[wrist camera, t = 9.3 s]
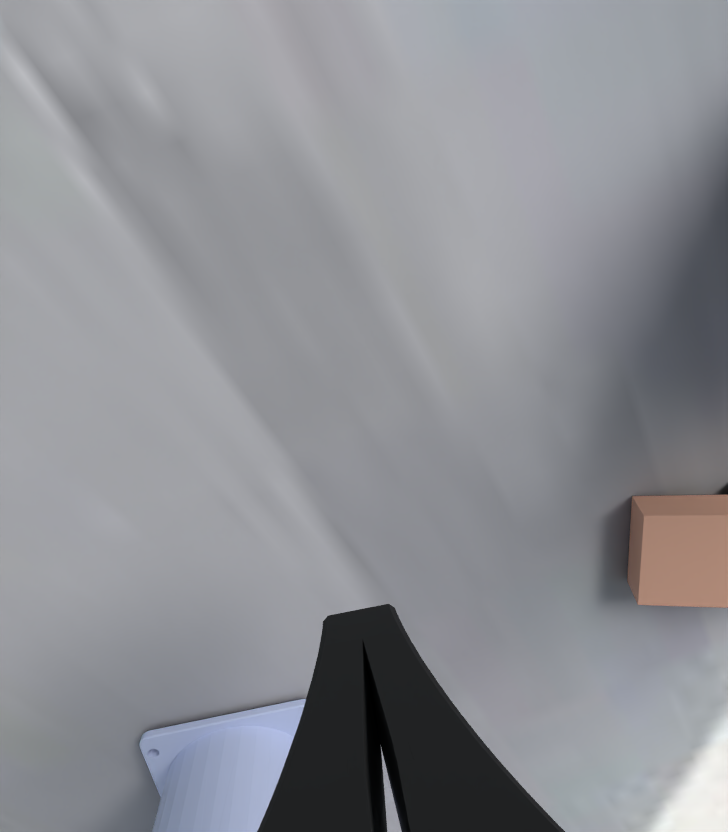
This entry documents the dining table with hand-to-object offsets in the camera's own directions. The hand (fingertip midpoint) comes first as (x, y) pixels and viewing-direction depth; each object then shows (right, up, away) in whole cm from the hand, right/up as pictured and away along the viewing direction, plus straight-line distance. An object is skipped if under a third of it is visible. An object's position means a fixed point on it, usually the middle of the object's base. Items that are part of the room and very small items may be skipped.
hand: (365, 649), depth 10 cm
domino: (+12, -1, +12) cm, 17 cm away
